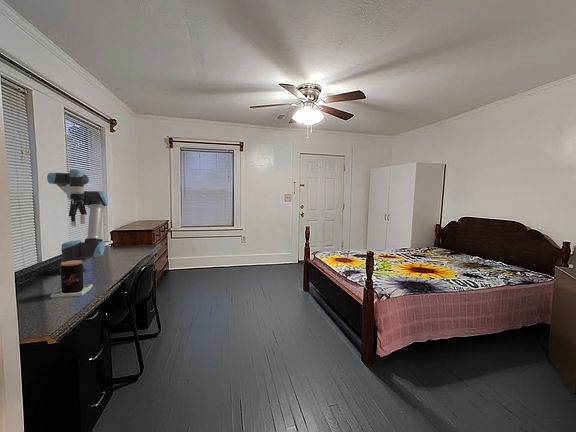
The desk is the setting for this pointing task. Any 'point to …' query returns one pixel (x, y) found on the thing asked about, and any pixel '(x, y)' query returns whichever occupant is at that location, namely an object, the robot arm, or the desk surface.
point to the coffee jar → (71, 276)
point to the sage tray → (81, 293)
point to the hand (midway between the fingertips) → (78, 225)
